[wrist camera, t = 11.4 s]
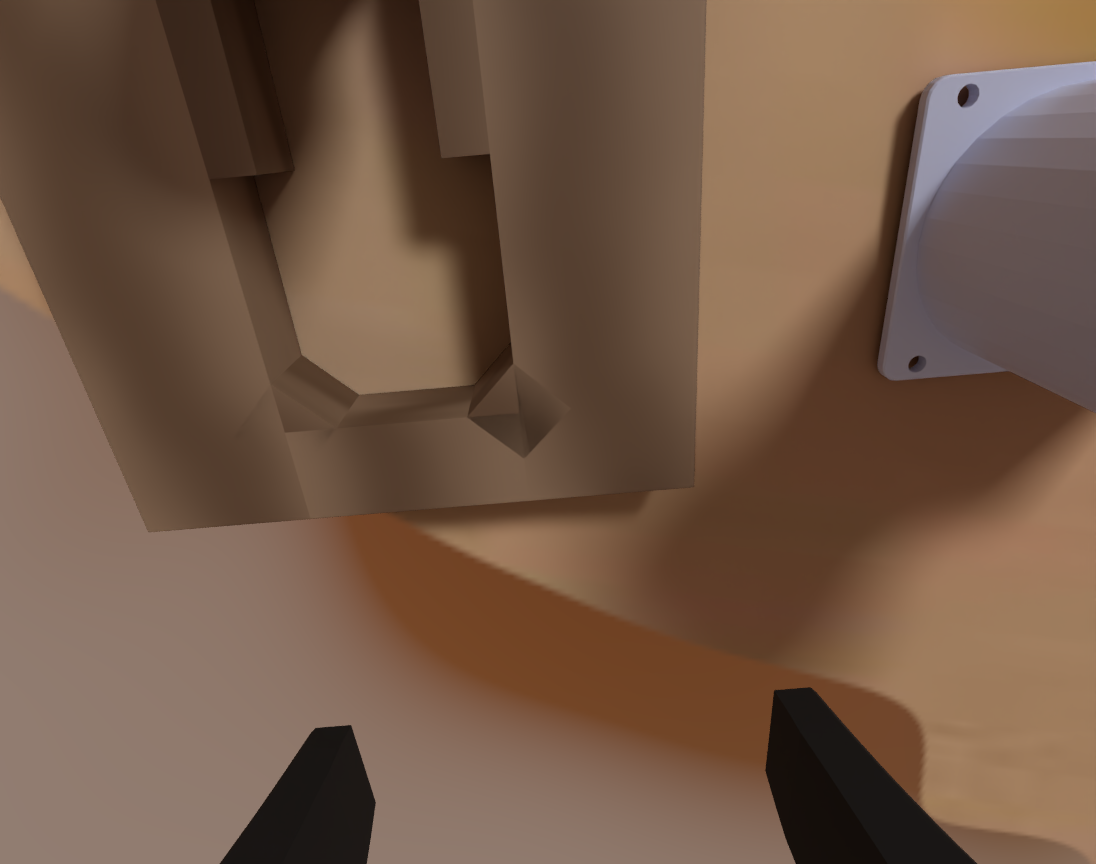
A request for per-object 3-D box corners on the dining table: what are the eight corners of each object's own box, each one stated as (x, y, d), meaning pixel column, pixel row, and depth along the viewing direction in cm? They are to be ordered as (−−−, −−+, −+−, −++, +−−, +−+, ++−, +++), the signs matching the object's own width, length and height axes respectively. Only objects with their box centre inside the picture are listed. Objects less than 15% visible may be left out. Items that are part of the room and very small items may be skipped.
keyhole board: (688, -705, 10) (730, -932, 8) (676, 449, 20) (694, 487, 18) (-239, -604, 10) (-439, -796, 8) (190, 489, 20) (148, 532, 18)
